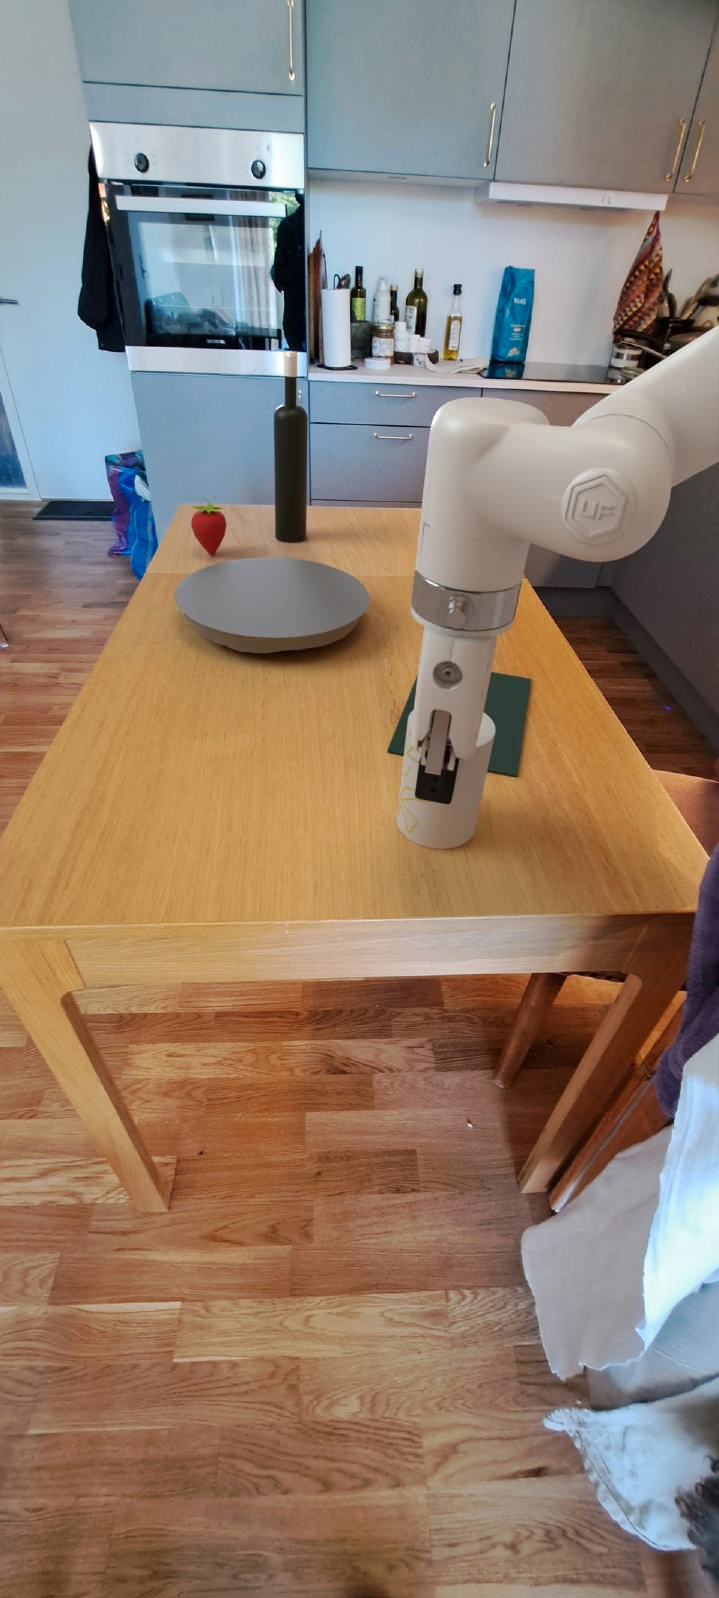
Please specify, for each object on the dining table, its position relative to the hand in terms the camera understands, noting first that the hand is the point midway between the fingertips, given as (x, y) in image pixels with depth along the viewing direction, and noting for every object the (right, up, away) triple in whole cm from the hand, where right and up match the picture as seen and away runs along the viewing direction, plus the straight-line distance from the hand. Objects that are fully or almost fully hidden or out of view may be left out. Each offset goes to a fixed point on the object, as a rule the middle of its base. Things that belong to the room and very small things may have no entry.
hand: (433, 795), depth 64 cm
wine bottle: (-19, +49, +74) cm, 91 cm away
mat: (+7, +10, +28) cm, 31 cm away
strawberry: (-33, +42, +65) cm, 84 cm away
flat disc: (-19, +26, +46) cm, 56 cm away
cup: (+1, -3, +12) cm, 12 cm away
